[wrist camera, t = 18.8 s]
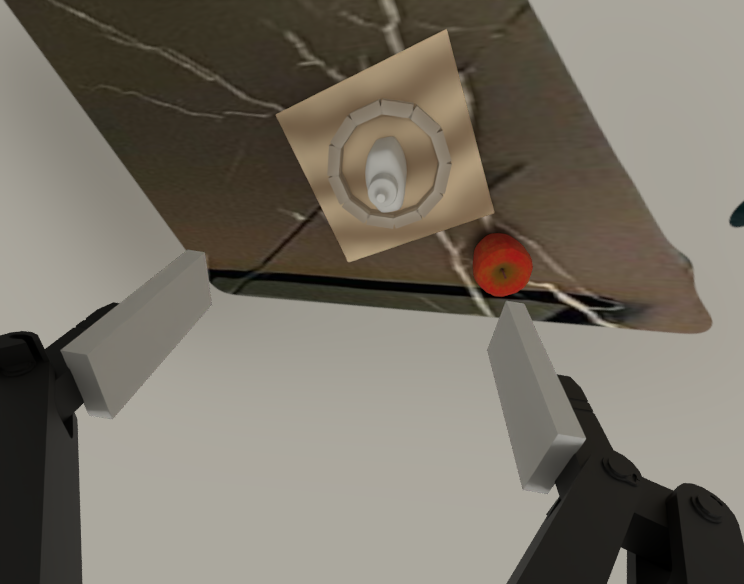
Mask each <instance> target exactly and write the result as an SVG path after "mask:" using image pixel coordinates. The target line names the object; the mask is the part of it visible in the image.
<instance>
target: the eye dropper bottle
mask: <svg viewBox="0 0 744 584" xmlns="http://www.w3.org/2000/svg"><path fill="white" fill-rule="evenodd" d="M406 176H407V167H406V159H405V155H404V152H403V150H402V147H401V145H400V143H399V142H398V140H397V139H396V138H395V137H393V136H389V137H385V138H380V139H378V140H376V141H375V143H374V145H373V146H372V148H371V150H370V152H369V154H368V157H367V162H366V169H365V178H366V185H367V190H368V197H369V199H370V201H371V202H372V203H373V204H374V205H375V206H376V207H377V209H378V210H379V211H381V212H384V213H386V212H393V211H397V210H399V209H400V208H401V207H402V204H403V201H404V196H405V187H406Z"/></svg>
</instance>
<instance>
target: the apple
mask: <svg viewBox="0 0 744 584" xmlns="http://www.w3.org/2000/svg"><path fill="white" fill-rule="evenodd" d="M532 268H533V266H532V259H531V257H530V255H529V253H528V252H527V251H526V249H525V248H524V246H523V245H522V244H521V243H519V242H518V241H517V240H516V239H514V238H513V237H511V236H509V235H507V234H501V233H493V234H489V235H487V236H485V237H484V238H483V239H482V240H481V241H480V242H479V243H478V244H477V246H476V248H475V250H474V257H473V275H474V278H475V280H476V282H477V283H478V284H479V286H480V287H481V288H482V289H484V290H485V291H486V292H487V293H490V294H492V295H494V296H506V295H510V294H513V293H516V292H518V291H519V290H521V289H522V288H524V287H525V285H526V284H527V283H528V281H529V278H530V275H531V272H532Z"/></svg>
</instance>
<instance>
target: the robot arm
mask: <svg viewBox="0 0 744 584" xmlns="http://www.w3.org/2000/svg"><path fill="white" fill-rule="evenodd" d="M211 305H212V302H211V294H210V287H209V280H208V272H207V265H206V257H205V252H199V251H193V250H187V251H185V252H184V253H183V254H182V255H180V256H179V257H178V258H176V259H175V260H174V261H173V262H171V263H170V264H169V265H168V266H166V267H165V268H164V269H163V270H161V271H160V272H159V273H157V274H156V275H155V276H154V277H152V278H151V279H150V280H149V281H147V282H146V283H145V284H144V285H142V286H141V287H140V288H139V289H137V290H136V291H135V292H134V293H132V294H131V295H130V296H128V297H127V298H126V299H125V300H123V301H122V302H121V303H111V304H109V305H107V306H105V307H102V308H100V309H98V310H96V311H95V312H94V313H92V314H91V315H90V316H88V317H87V318H86V320H83V321H82V322H80V323H79V324H78V325H76V328H72V329H71V330H70V331H68V332H67V333H66V334H64V335H63V336H62V337H60V338H59V339H58V340H56V341H55V342H54V343H53V344H51V345H50V346H49V347H47V348H46V349H44V347H43V345H42V343H41V341H40V339H39V337H38V335H37V334H35V333H33V332H26V331H20V332H12V333H8V334H4V335H0V584H82V560H81V558H82V557H81V525H80V492H79V460H78V459H79V458H78V425H77V417H76V415H75V413H74V412H75V411H76V410H77V409H78V408H79V407H80V406H81V405H82V404H83V403H84V405H85V407H86V409H87V412H88V414H89V415H90V416H96V417H102V418H108V419H113V418H114V417H115V416H116V415H117V413H118V412H119V411H120V410H121V409H122V408H123V407H124V405H125V404H126V403H127V402H128V401H129V400H130V398H131V397H132V396H133V395H134V394H135V393H136V392H137V390H138V389H139V388H140V387H141V386H142V385H143V383H144V382H145V381H146V380H147V379H148V377H150V375H151V374H152V373H153V372H154V371H155V370H156V369H157V367H158V366H159V365H160V364H161V363H162V362H163V360H164V359H165V358H166V357H167V356H168V355H169V354H170V352H171V351H172V350H173V349H174V348H175V347H176V345H177V344H178V343H179V342H180V341H181V340H182V339H183V337H184V336H185V335H186V334H187V333H188V332H189V330H190V329H191V328H192V327H193V326H194V325H195V323H196V322H197V321H198V320H199V319H200V318H201V317H202V315H203V314H204V313H205V312H206V311H207V310H208V309H209V307H210V306H211ZM487 351H488V355H489V359H490V363H491V366H492V370H493V374H494V378H495V382H496V386H497V390H498V394H499V398H500V402H501V406H502V410H503V414H504V418H505V421H506V426H507V429H508V433H509V437H510V441H511V445H512V449H513V453H514V457H515V461H516V465H517V469H518V473H519V477H520V480H521V484H522V489H523V490H526V491H532V492H538V493H544V494H548V493H549V491H550V490H551V488H552V487H553V486H554V484H556V487H557V490H558V493H559V498H558V499H557V501H556V502H555V503H554V505H553V506H552V507H551V509H550V510H549V511H548V513H547V514H546V515H547V517H546V519H545V521H544V522H543V524H542V525H541V527H540V529H539V530H538V532H537V534H536V535H535V537H534V539H533V541H532V542H531V544H530V546H529V547H528V549H527V550H526V552H525V554H524V556H523V557H522V559H521V560H520V562H519V564H518V565H517V567H516V569H515V571H514V572H513V574H512V575H511V577H510V579H509V581H508V582H507V584H607V582H608V579H609V577H610V574H611V571H612V569H613V566H614V563H615V561H616V558H617V556H618V553H619V550H620V548H621V547H622V548H624V549H626V550H627V584H744V543H743V539H742V535H741V531H740V528H739V524H738V522H737V520H736V517H735V515H734V514H733V513H732V511H731V510H730V509H729V508H728V506H727V505H726V504H725V503H724V502H723V501H721V500H720V499H719V498H718V497H717V496H715V495H714V494H713V493H711V492H709V491H708V490H706V489H704V488H703V487H700V486H697V485H695V484H690V483H683V484H681V485H680V486H678V487H677V488H676V489H675V490H674V491H673V490H671V489H668V488H666V487H664V486H661V485H659V484H657V483H654V482H652V481H650V480H647V479H645V478H643V477H642V476H641V473H640V471H639V470H638V469H637V468H636V467H635V465H634V464H633V463H632V462H631V461H630V460H628V459H627V458H626V457H625V456H623V455H621V454H619V453H618V452H616V451H614V450H613V448H612V447H611V445H610V443H609V441H608V439H607V437H606V435H605V433H604V431H603V429H602V427H601V425H600V423H599V421H598V419H597V418H596V416H595V414H594V413H593V410H592V408H591V406H590V404H589V403H588V400H587V398H586V396H585V394H584V392H583V391H582V389H581V387H580V386H579V385H578V384H577V383H576V382H575V381H574V380H573V379H572V378H571V377H569V376H563V375H557V374H556V372H555V370H554V368H553V365H552V363H551V361H550V359H549V357H548V355H547V353H546V350H545V348H544V346H543V344H542V341H541V339H540V337H539V335H538V333H537V331H536V329H535V326H534V324H533V322H532V320H531V318H530V315H529V313H528V311H527V309H526V307H525V305H524V304H523V303H516V302H510V301H506V303H505V305H504V308H503V310H502V313H501V315H500V318H499V321H498V323H497V326H496V328H495V331H494V334H493V336H492V339H491V341H490V344H489V347H488V349H487Z"/></svg>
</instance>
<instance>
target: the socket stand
mask: <svg viewBox="0 0 744 584" xmlns="http://www.w3.org/2000/svg"><path fill="white" fill-rule="evenodd" d="M276 117H277V119H278V121H279V123H280V125H281V127H282V129H283V131H284V133H285V135H286V137H287V139H288V141H289V143H290V145H291V147H292V149H293V151H294V153H295V155H296V157H297V159H298V161H299V163H300V165H301V167H302V169H303V171H304V173H305V175H306V177H307V179H308V181H309V184H310V186H311V188H312V190H313V192H314V194H315V196H316V198H317V200H318V202H319V204H320V206H321V208H322V210H323V212H324V214H325V216H326V218H327V220H328V222H329V224H330V226H331V228H332V230H333V232H334V234H335V236H336V238H337V240H338V242H339V244H340V246H341V248H342V250H343V252H344V254H345V256H346V258H347V261H348V262H351V261H354V260H357V259H360V258H363V257H366V256H369V255H372V254H375V253H378V252H381V251H384V250H387V249H390V248H393V247H396V246H399V245H402V244H404V243H407V242H410V241H413V240H416V239H419V238H422V237H425V236H428V235H431V234H434V233H437V232H440V231H443V230H446V229H449V228H452V227H455V226H458V225H461V224H463V223H466V222H469V221H472V220H475V219H478V218H481V217H484V216H487V215H490V214H493V213H494V209H493V205H492V201H491V198H490V194H489V190H488V186H487V182H486V178H485V175H484V171H483V167H482V163H481V159H480V155H479V151H478V148H477V144H476V140H475V136H474V132H473V128H472V124H471V121H470V117H469V113H468V109H467V105H466V101H465V98H464V94H463V90H462V86H461V82H460V78H459V74H458V71H457V67H456V63H455V59H454V55H453V51H452V47H451V44H450V40H449V36H448V32H447V29H446V30H444V31H442V32H440V33H438V34H436V35H434V36H432V37H430V38H428V39H426V40H424V41H422V42H420V43H418V44H416V45H414V46H412V47H410V48H408V49H406V50H404V51H402V52H400V53H398V54H396V55H394V56H392V57H390V58H388V59H386V60H384V61H382V62H380V63H378V64H376V65H374V66H372V67H370V68H368V69H366V70H364V71H362V72H360V73H358V74H356V75H354V76H352V77H350V78H348V79H346V80H344V81H342V82H340V83H338V84H336V85H334V86H332V87H330V88H328V89H326V90H324V91H322V92H320V93H318V94H316V95H314V96H312V97H310V98H308V99H306V100H304V101H302V102H300V103H298V104H296V105H294V106H292V107H290V108H288V109H286V110H284V111H282V112H280V113H278V114H276ZM389 136H393V137H395V138H396V139H397V140H398V142H399V143H400V145H401V147H402V150H403V152H404V155H405V159H406V167H407V176H406V187H405V196H404V201H403V204H402V207H401V208H400V209H399V210H397V211H393V212H386V213H384V212H381V211H379V210H378V209H377V207H376V206H375V205H374V204H373V203H372V202H371V201H370V199H369V197H368V190H367V185H366V178H365V169H366V162H367V157H368V154H369V152H370V150H371V148H372V146H373V145H374V143H375V141H376V140H378V139H380V138H385V137H389Z"/></svg>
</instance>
